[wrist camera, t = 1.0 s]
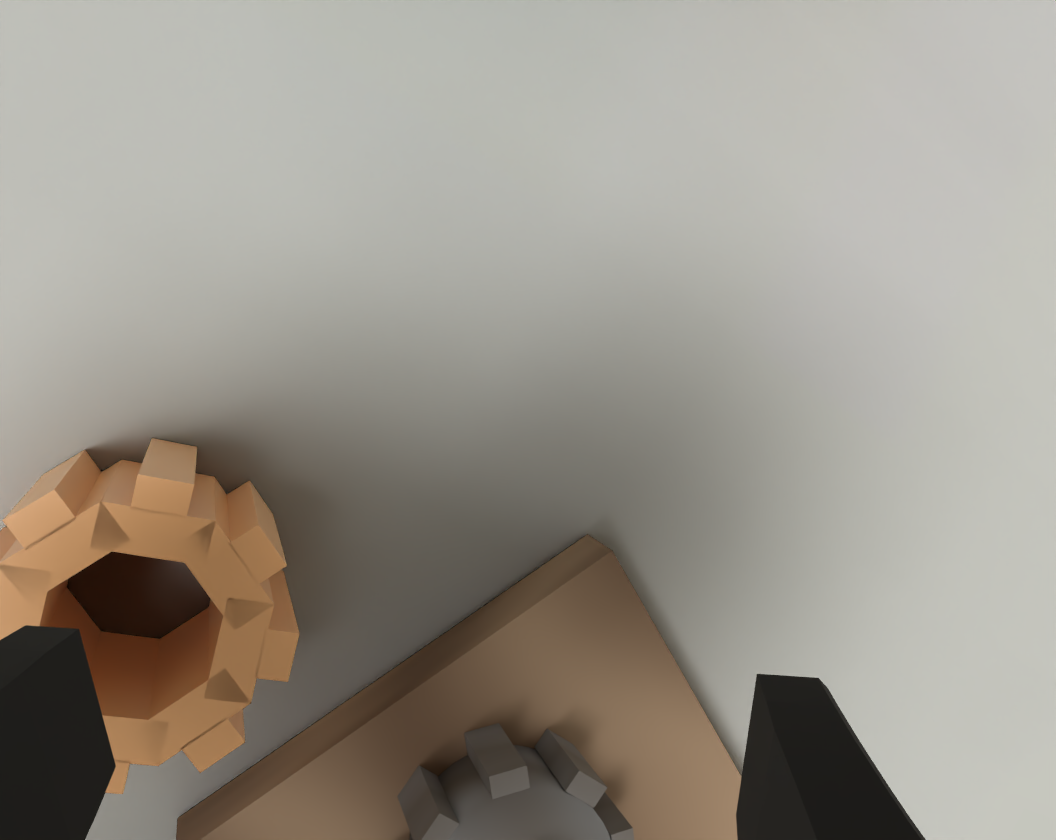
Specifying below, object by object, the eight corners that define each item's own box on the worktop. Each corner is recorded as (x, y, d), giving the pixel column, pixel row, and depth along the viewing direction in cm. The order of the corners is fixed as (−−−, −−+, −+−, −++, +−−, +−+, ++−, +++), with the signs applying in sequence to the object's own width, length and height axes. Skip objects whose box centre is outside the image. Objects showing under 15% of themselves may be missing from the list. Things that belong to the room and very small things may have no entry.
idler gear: (104, 748, 20) (80, 855, 16) (-66, 539, 19) (-136, 602, 15) (330, 598, 21) (356, 665, 17) (187, 388, 20) (181, 412, 16)
